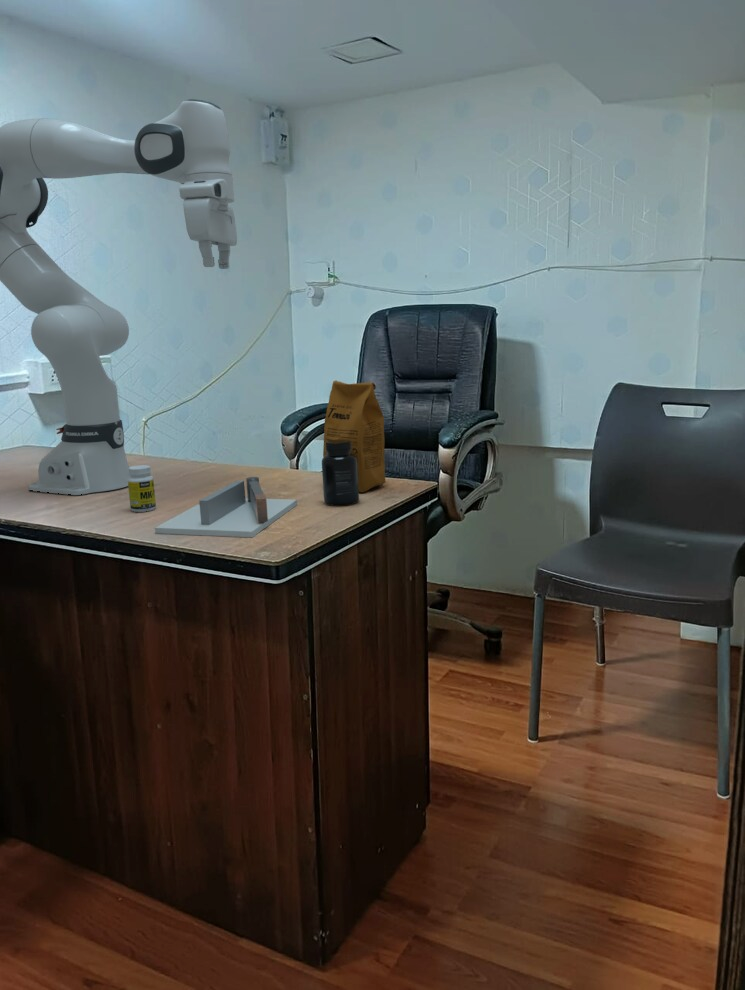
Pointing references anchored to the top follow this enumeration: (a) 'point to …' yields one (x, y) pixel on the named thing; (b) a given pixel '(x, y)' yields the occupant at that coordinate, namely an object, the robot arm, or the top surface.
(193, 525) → the board
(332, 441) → the supplement bottle
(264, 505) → the tongs jaw
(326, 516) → the top surface
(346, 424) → the coffee package
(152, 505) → the supplement bottle
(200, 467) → the top surface
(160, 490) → the top surface
